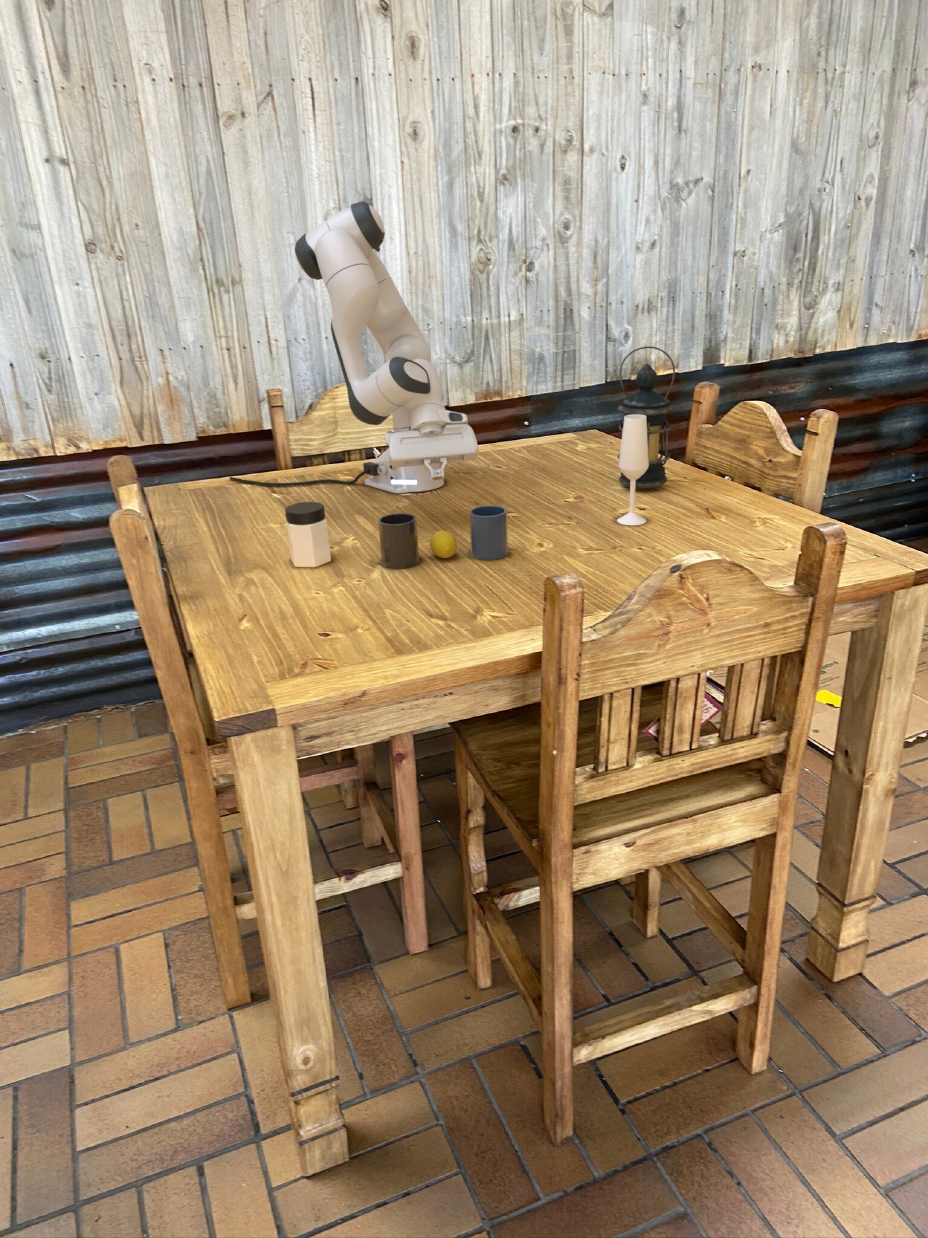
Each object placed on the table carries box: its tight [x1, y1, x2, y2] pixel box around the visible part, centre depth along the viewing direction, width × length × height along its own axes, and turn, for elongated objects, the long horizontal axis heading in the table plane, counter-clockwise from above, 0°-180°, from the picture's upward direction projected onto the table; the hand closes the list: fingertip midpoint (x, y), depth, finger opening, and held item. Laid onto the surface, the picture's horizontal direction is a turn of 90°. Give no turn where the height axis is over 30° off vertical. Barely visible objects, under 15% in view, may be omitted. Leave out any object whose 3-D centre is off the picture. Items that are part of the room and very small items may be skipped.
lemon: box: [429, 530, 458, 559], centre depth 188 cm, size 6×6×8 cm
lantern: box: [617, 345, 676, 491], centre depth 222 cm, size 14×13×35 cm
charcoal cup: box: [377, 512, 420, 569], centre depth 185 cm, size 8×8×10 cm
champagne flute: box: [616, 414, 649, 526], centre depth 200 cm, size 7×7×24 cm
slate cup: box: [468, 504, 509, 561], centre depth 187 cm, size 8×8×10 cm
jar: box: [284, 501, 332, 568], centre depth 188 cm, size 9×8×12 cm
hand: (437, 478), depth 197 cm, fingers closed
